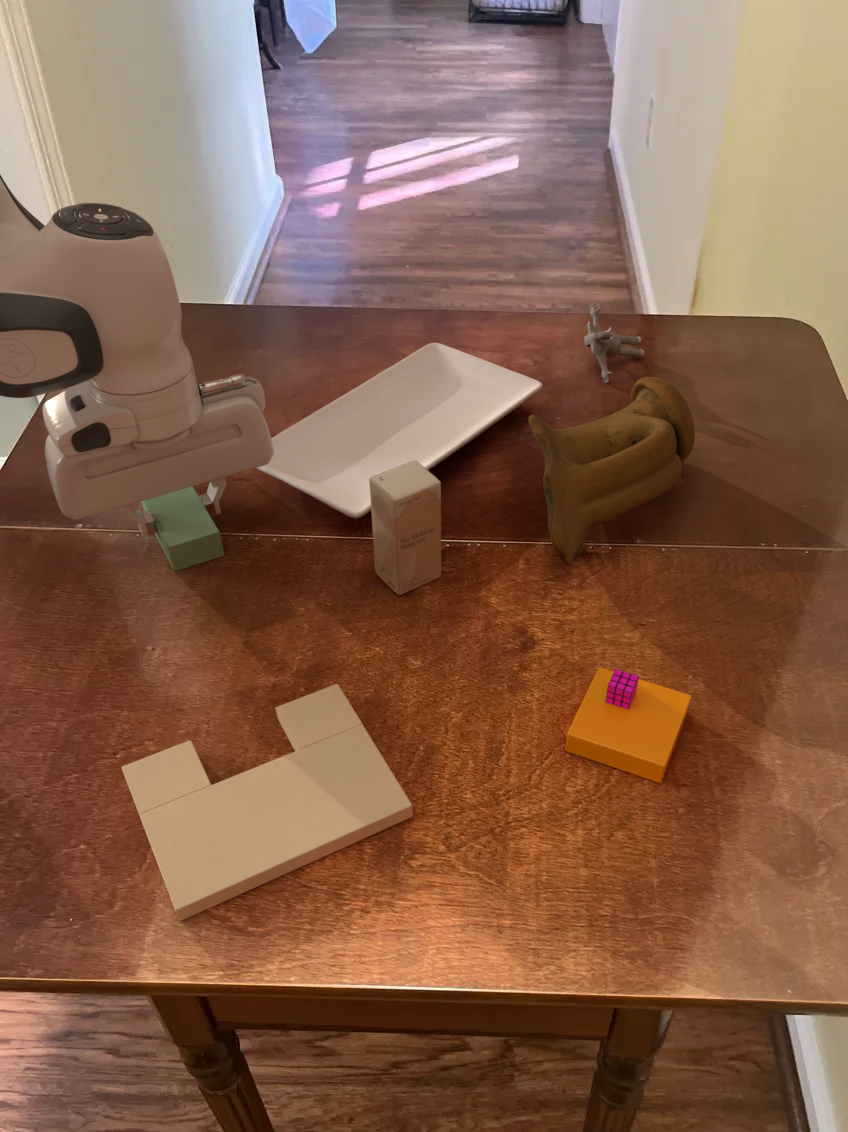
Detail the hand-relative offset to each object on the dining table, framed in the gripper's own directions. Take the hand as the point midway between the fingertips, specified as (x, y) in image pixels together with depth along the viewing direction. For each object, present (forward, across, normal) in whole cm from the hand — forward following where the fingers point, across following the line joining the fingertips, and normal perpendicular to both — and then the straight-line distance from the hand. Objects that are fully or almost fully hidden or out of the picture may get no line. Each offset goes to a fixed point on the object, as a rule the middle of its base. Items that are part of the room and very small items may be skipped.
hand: (180, 522), depth 96 cm
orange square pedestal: (+2, -24, +42) cm, 48 cm away
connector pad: (+2, 0, 0) cm, 2 cm away
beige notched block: (+2, +4, +34) cm, 34 cm away
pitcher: (+2, -39, +16) cm, 42 cm away
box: (+2, -17, +16) cm, 23 cm away
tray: (+2, -26, -4) cm, 26 cm away
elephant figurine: (+2, -56, -8) cm, 57 cm away
